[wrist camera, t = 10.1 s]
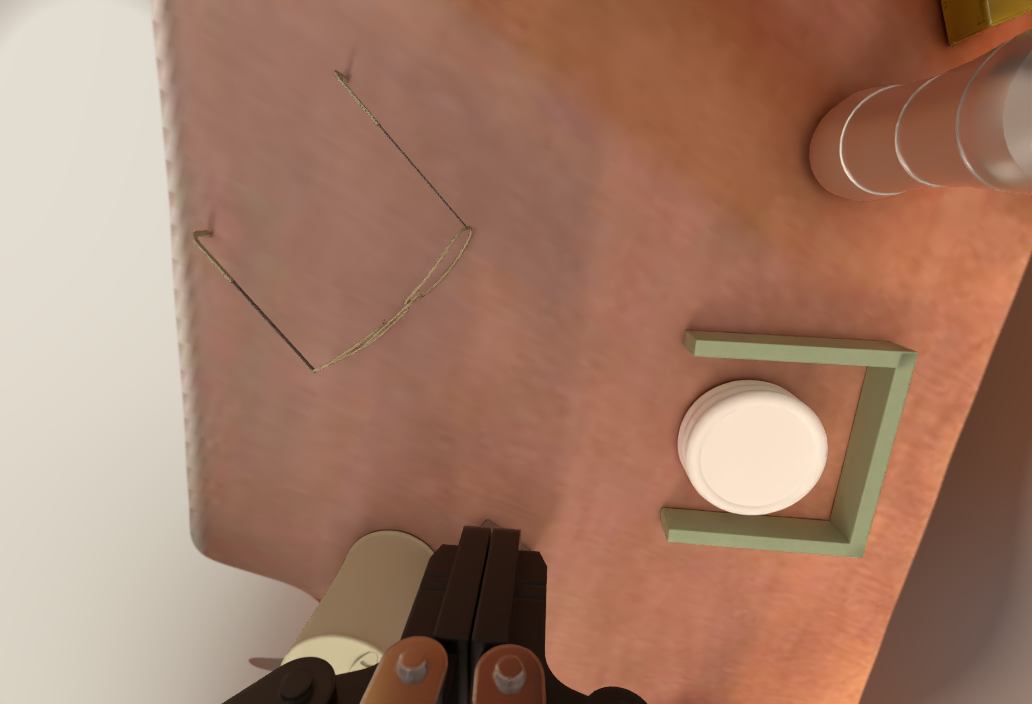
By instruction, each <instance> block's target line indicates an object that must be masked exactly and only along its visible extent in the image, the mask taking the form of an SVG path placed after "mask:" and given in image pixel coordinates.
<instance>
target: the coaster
mask: <svg viewBox="0 0 1032 704" xmlns="http://www.w3.org/2000/svg"><path fill="white" fill-rule="evenodd" d="M678 453H679V457H680V460H681V463H682V465H683V467H684V469H685V471H686V473H687V475H688V477H689V479H690V481H691V483H692V485H693V487H694V488H695V489H696V490H697V492H698V493H699V494H700V495H701V496H702V497H703V498H705V499H706V500H707V501H709V502H710V503H711V504H713V505H715V506H716V507H718V508H720V509H723V510H725V511H728V512H732V513H736V514H742V515H762V514H768V513H772V512H776V511H779V510H782V509H784V508H787V507H789V506H791V505H793V504H794V503H796V502H797V501H799V500H800V499H801V498H803V497H804V496H805V495H806V494H807V493H808V492H809V491H810V490H811V489H812V488H813V487H814V486H815V484H816V483H817V482H818V480H819V478H820V477H821V475H822V472H823V470H824V468H825V464H826V461H827V455H828V443H827V437H826V433H825V430H824V428H823V426H822V424H821V422H820V420H819V418H818V417H817V415H816V414H815V413H814V412H813V411H812V410H811V409H810V408H809V407H808V406H807V405H805V404H804V403H803V402H802V401H800V400H799V399H798V398H796V397H795V396H794V395H793V394H791V393H790V392H789V391H787V390H785V389H784V388H782V387H780V386H777V385H775V384H772V383H768V382H764V381H757V380H739V381H732V382H729V383H725V384H722V385H720V386H717V387H715V388H713V389H711V390H709V391H708V392H706V393H705V394H703V395H702V396H701V397H700V398H699V399H697V400H696V401H695V402H694V403H693V405H692V406H691V407H690V408H689V410H688V411H687V413H686V414H685V416H684V418H683V421H682V423H681V426H680V430H679V435H678Z"/></svg>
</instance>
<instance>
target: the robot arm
mask: <svg viewBox="0 0 1032 704" xmlns="http://www.w3.org/2000/svg"><path fill="white" fill-rule="evenodd" d="M520 544H521V530H518V529H505V528H493V533H492V528H490V527H476V526H464V528H463V532H462V535H461V538H460V542H459V545H445V544H442V545H441V546H440V548H439V549H438V550H437V551H436V552H435V553H434V554H433V555H432V556H431V557H430V558H429V561H428V564H427V567H426V569H425V572H424V576H423V578H422V581H421V583H420V587H419V589H418V592H417V594H416V597H415V600H414V603H413V605H412V608H411V611H410V614H409V617H408V619H407V622H406V625H405V628H404V630H403V633H402V636H401V639H400V641H398V642H396V643H395V644H393V645H392V646H391V647H390V648H389V649H387V651H386V652H385V653H384V654H383V656H382V658H381V659H380V662H379V663H377V664H375V665H373V666H370V667H368V668H365V669H361V670H357V671H352V672H347V673H342V674H338V675H335V672H334V669H333V667H332V666H331V665H330V664H329V663H328V662H327V661H326V660H324V659H321V658H318V657H303V658H298V659H295V660H292V661H290V662H287V663H286V664H284V665H282V666H280V667H279V668H277V669H276V670H274V671H272V672H271V673H269V674H268V675H266V676H265V677H263V678H262V679H260V680H258V681H257V682H256V683H254V684H252V685H250V686H249V687H247V688H246V689H244V690H243V691H241V692H240V693H238V694H236V695H235V696H233V697H232V698H230V699H228V700H227V701H226V702H224V703H222V704H647V703H646V702H645V701H644V700H643V699H642V698H641V697H639V696H638V695H637V694H635V693H633V692H631V691H630V690H627V689H624V688H620V687H604V688H600V689H598V690H596V691H594V692H593V693H592V694H590V695H589V696H586V695H584V694H582V693H579V692H577V691H575V690H573V689H571V688H569V687H567V686H565V685H564V684H563V683H561V682H560V681H559V680H558V679H557V678H556V677H555V676H554V675H553V674H552V672H551V670H550V669H549V667H548V665H547V662H546V658H545V622H546V584H547V565H546V564H545V562H544V560H543V558H542V556H541V554H540V552H537V551H524V550H520Z"/></svg>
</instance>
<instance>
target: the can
mask: <svg viewBox="0 0 1032 704" xmlns="http://www.w3.org/2000/svg"><path fill="white" fill-rule="evenodd" d="M433 554H434V552H433V551H432V549H431V548H430V547H429V546H428V545H426V544H425V543H424V542H423V541H421V540H419V539H418V538H416V537H414V536H412V535H409V534H407V533H403V532H399V531H391V530H385V531H377V532H373V533H370V534H368V535H365V536H364V537H362V538H360V539H359V540H358V541H357V542H356V543H355V544H354V545H353V546H352V547H351V548H350V550H349V552H348V554H347V556H346V559H345V561H344V563H343V565H342V567H341V568H340V570H339V572H338V574H337V575H336V577H335V579H334V580H333V582H332V584H331V585H330V587H329V589H328V590H327V592H326V593H325V595H324V597H323V598H322V600H321V602H320V603H319V605H318V607H317V608H316V610H315V611H314V613H313V615H312V616H311V618H310V620H309V621H308V623H307V624H306V626H305V628H304V629H303V631H302V633H301V634H300V635H299V637H298V639H297V640H296V642H295V643H294V645H293V647H292V648H291V649H290V650H289V652H288V653H287V654H286V656H285V657H284V659H283V661H282V664H281V666H282V665H284V664H286V663H287V662H290V661H292V660H295V659H298V658H303V657H318V658H321V659H324V660H326V661H327V662H328V663H329V664H330V665H331V666H332V667H333V669H334V672H335V675H338V674H342V673H347V672H352V671H357V670H361V669H365V668H368V667H370V666H373V665H375V664H377V663H379V662H380V659H381V658H382V656H383V654H384V653H385V652H386V651H387V649H389V648H390V647H391V646H392V645H393V644H395V643H396V642H398V641H400V639H401V636H402V633H403V630H404V628H405V625H406V622H407V619H408V617H409V614H410V611H411V608H412V605H413V603H414V600H415V597H416V594H417V592H418V589H419V587H420V583H421V581H422V578H423V576H424V572H425V569H426V567H427V564H428V561H429V558H430V557H431V556H432V555H433Z"/></svg>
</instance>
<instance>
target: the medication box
mask: <svg viewBox="0 0 1032 704" xmlns="http://www.w3.org/2000/svg"><path fill="white" fill-rule="evenodd" d="M941 4H942V10H943V15H944V20H945V26H946V31H947V36H948V42H949V44H950V46H952V47H953V46H954V45H955V44H957V43H959V42H962V41H965V40H967V39H970V38H972V37H974V36H977V35H979V34H981V33H983V32H985V31H988V30H990V29H992V28H994V27H996V26H999V25H1001V24H1003V23H1005V22H1007V21H1009V20H1012V19H1014V18H1016V17H1018V16H1020V15H1022V14H1025V13H1027V12H1029V11H1031V10H1032V0H941Z"/></svg>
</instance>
